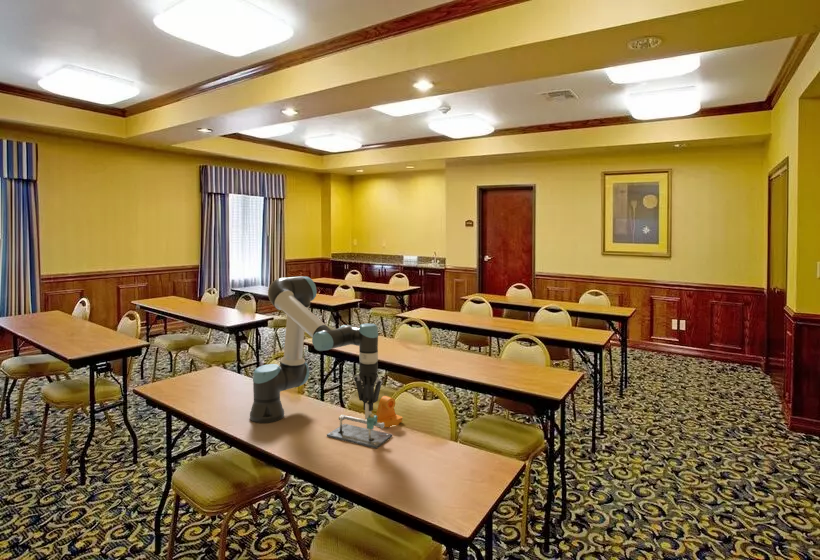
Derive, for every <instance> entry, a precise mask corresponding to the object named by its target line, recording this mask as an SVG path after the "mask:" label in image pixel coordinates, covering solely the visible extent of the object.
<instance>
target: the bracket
mask: <svg viewBox="0 0 820 560" xmlns="http://www.w3.org/2000/svg"><path fill="white" fill-rule="evenodd" d="M395 406H396V400H395V398H392V397H390V396H387V395H382V396H381V398H380V399H379V403H378V405H377V409H376V414H375V415H376V416H377V422H379V423H382V422H383V423H384V428H389V427H390V426H392V425H396V426H399V425H400V423H402V422H403V416H402V415H398V414H396V411H395Z"/></svg>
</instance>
